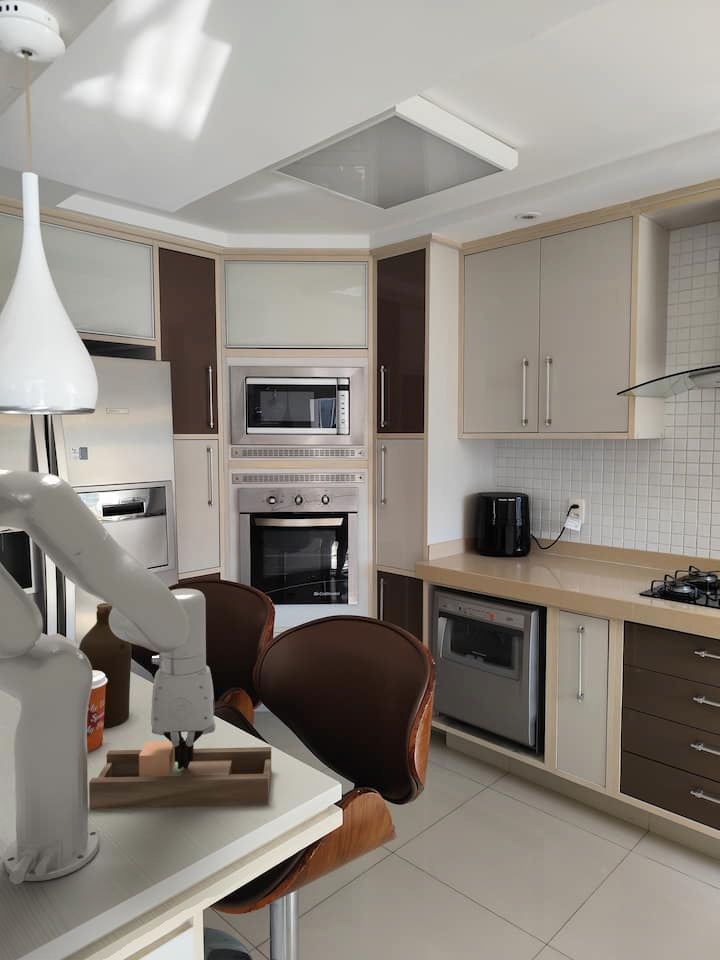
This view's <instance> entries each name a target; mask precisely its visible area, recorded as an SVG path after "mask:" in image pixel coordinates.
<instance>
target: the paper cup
mask: <svg viewBox="0 0 720 960" xmlns="http://www.w3.org/2000/svg"><path fill="white" fill-rule="evenodd" d="M92 671H93V682H92V689H91V694H90V699H89V705H88V714H87V753H89V752H88V751H90V752H93V751H95V750H97V749H100V748H101V746H102V745H103V740H104V738H103V737H104V728H103V726H104V708H105V688H106V683H107V678H106V677H105V674H104V673H103V672H101V671H95V670H92Z"/></svg>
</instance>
